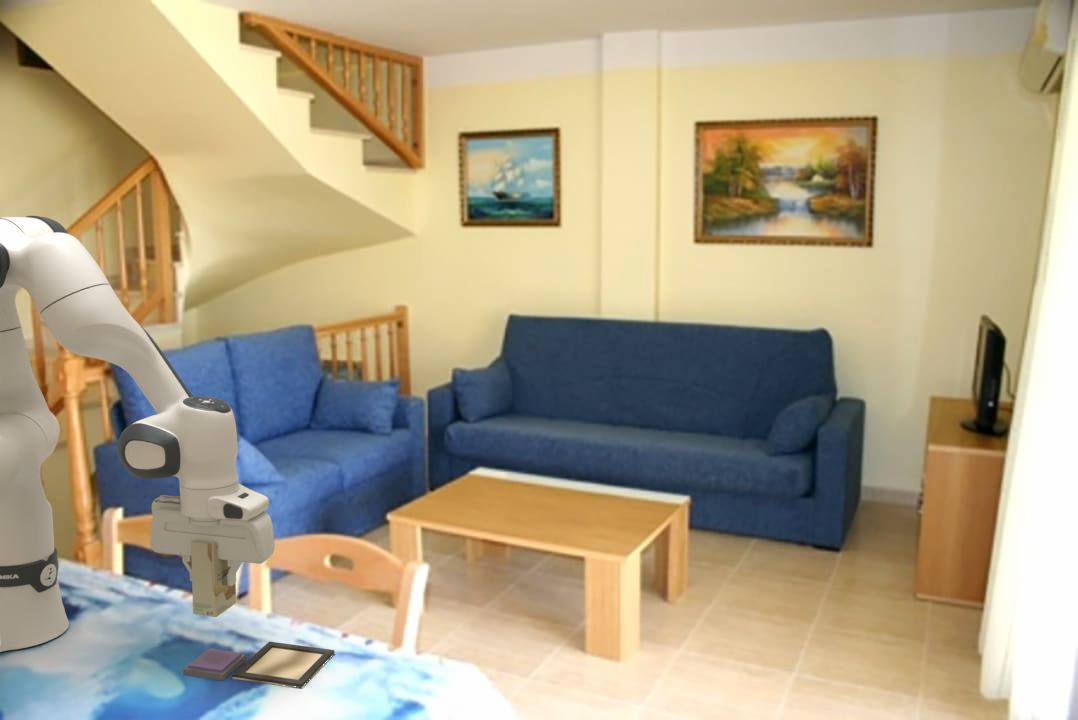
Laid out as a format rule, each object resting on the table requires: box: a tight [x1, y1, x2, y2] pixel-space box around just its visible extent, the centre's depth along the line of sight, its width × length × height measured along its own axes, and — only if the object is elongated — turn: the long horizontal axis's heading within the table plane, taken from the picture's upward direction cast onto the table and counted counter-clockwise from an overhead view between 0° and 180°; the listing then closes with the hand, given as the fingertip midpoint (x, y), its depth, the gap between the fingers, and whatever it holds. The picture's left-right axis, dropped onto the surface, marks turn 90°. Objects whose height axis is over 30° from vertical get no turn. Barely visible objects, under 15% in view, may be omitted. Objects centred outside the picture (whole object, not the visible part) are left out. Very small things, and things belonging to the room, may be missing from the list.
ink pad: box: [182, 648, 247, 682], centre depth 153 cm, size 7×7×2 cm
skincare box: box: [191, 540, 237, 618], centre depth 150 cm, size 6×4×12 cm
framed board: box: [231, 641, 335, 688], centre depth 154 cm, size 12×12×1 cm
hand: (213, 582), depth 150 cm, fingers closed on skincare box, 4 cm apart
